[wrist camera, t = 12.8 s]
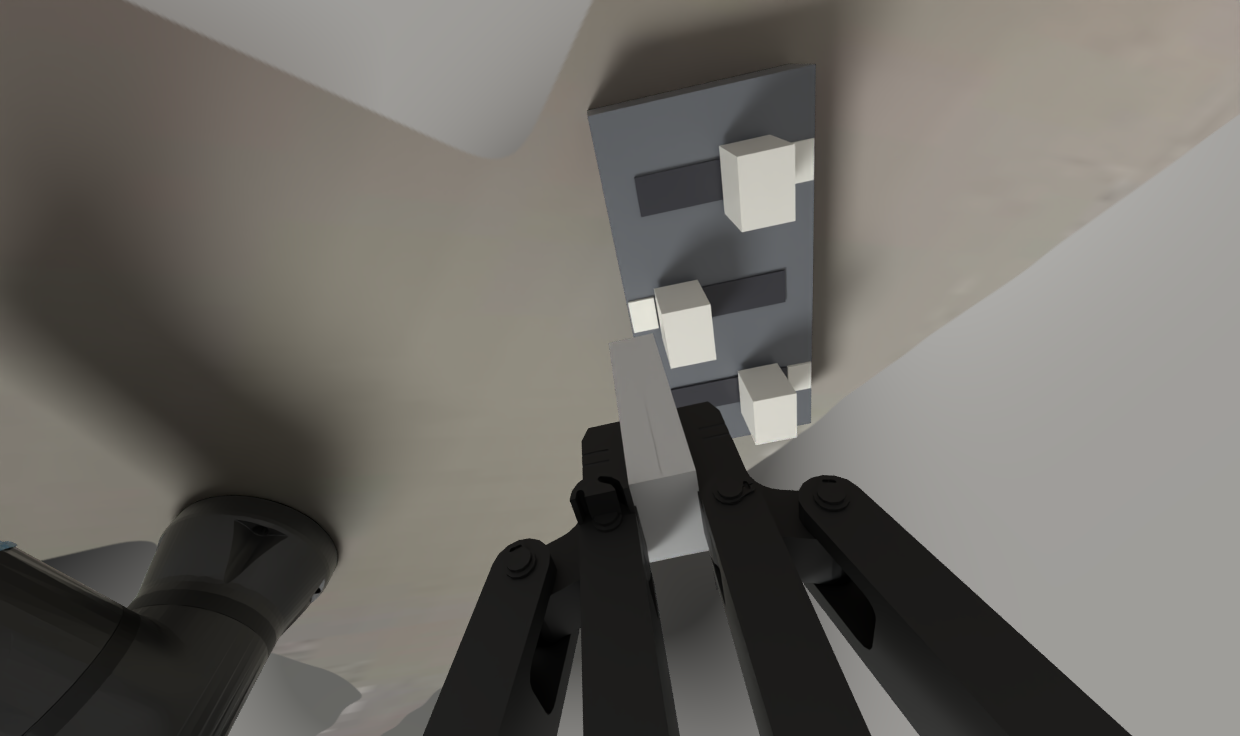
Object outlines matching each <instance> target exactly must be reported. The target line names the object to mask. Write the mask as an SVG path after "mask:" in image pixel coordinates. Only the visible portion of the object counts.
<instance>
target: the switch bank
mask: <svg viewBox="0 0 1240 736" xmlns="http://www.w3.org/2000/svg"><path fill="white" fill-rule="evenodd" d="M815 81H816V64H787V65H783V66H779V67H774V68H770V69H765V70H761V71H757V72H752V73H748V74H744V75H739V76H735V77H731V78H726V79H722V80H718V81H713V82H709V83H705V84H700V85H696V86H692V87H687V88H683V89H678V90H674V91H670V92H665V93H661V94H657V95H652V96H648V97H644V98H639V99H635V100H631V101H626V102H622V103H618V104H613V105H609V106H605V107H600V108H596V109H592V110H587V115H588V121H589V125H590V130H591V135H592V140H593V145H594V149H595V154H596V159H597V164H598V169H599V173H600V178H601V183H602V188H603V192H604V197H605V202H606V207H607V212H608V216H609V221H610V226H611V231H612V236H613V240H614V245H615V250H616V255H617V260H618V264H619V269H620V274H621V279H622V283H623V288H624V293H625V298H626V303H627V307H628V312H629V317H630V322H631V327H632V331H633V336H634V337H638V336H643V335H647V334H652V333H653V336H654V339H655V342H656V345H657V348H658V352H659V355H660V358H661V361H662V364H663V368H664V371H665V374H666V377H667V380H668V384H669V387H670V390H671V393H672V396H673V399H674V403H675V406H676V408H679V407H683V406H688V405H693V404H697V403H702V402H707V401H708V402H710V403H711V404H712V405H713V406H715V407H716V408H717V409H719V410H720V412H721V414H722V417H723V419H724V421H725V425H726V426H727V428H728V430H729V433H730V435H731V437H732V438H736V437H741V436H746V435H751V433H750V431H749V428H748V426H747V424H746V422H745V420H744V417H743V415H742V413H741V404H740V392H739V380H738V371H740V370H745V369H750V368H755V367H760V366H765V365H770V364H775V363H777V364H778V365H779V367H780V368H781V370H782V371H783V373H784V374H785V376H786V378H787V379H788V381H789V382H790V384H791V385H792V387H793V388H794V390H795V392H796V393H797V426H798V425H803V424H808V423H811V373H812V300H813V227H814V154H815ZM765 135H773V136H775V137H778V138H780V139H783V140H786V141H788V142H791V143H793V144H795V221H792V222H788V223H783V224H778V225H774V226H769V227H764V228H760V229H755V230H750V231H746V232H741V231H740V230H739V229H738V227H737V226H736V225H735V224H734V223H733V222H732V221H731V220H730V219H729V218H728V217H727V216H726V215H725V212H724V200H723V188H722V176H721V164H720V152H719V146H721V145H725V144H730V143H734V142H739V141H743V140H748V139H752V138H756V137H761V136H765ZM693 280H698V281H699V283H700V285H701V287H702V289H703V291H704V293H705V295H706V297H707V299H708V301H709V302H710V305H711V314H712V323H713V332H714V341H715V351H716V360H712V361H707V362H702V363H697V364H692V365H687V366H682V367H677V368H672V369H671V367H670V364H669V360H668V357H667V353H666V350H665V346H664V343H663V339H662V334H661V328H660V322H659V316H658V310H657V305H656V299H655V293H654V289H655V288H659V287H664V286H669V285H674V284H679V283H683V282H688V281H693Z"/></svg>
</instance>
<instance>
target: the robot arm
mask: <svg viewBox="0 0 1240 736" xmlns="http://www.w3.org/2000/svg"><path fill="white" fill-rule="evenodd" d="M609 349H610V356H611V363H612V370H613V377H614V384H615V391H616V398H617V406H618V413H619V420H620V422H615V423H610V424H606V425H601V426H596V427H592V428H588V430H587V432H586V434H585V436H584V438H583V440H582V456H583V457H582V465H583V480H581V481H580V482H579V483H578V484H577V485H576V486H575V488H574V489H573V490H572V493H571V497H570V502H571V505H572V508H573V510H574V513H575V516H576V519H577V521H578V523H577V525H576V526H575V527H574V528H573V529H572V530H571V531H570V532H568V533H567V534H565V535H564V536H562V537H560V538H558V539H557V540H555V541H553V542H551V543H549V544H547V545H545V544H544V543H543V542H541V541H540V540H536V539H530V538H529V539H523V540H518V541H516V542H514V543H512V544H510V545H508V546H507V547H506V548H505V549H504V550H503V551H502V552H500V553H499V555H498V556H497V558H496V560H495V561H494V563H493V565H492V567H491V570H490V572H489V575H488V577H487V580H486V582H485V584H484V587H483V589H482V592H481V594H480V597H479V599H478V602H477V604H476V607H475V609H474V611H473V614H472V616H471V619H470V621H469V624H468V626H467V629H466V631H465V634H464V636H463V638H462V641H461V643H460V646H459V648H458V651H457V653H456V656H455V658H454V660H453V663H452V665H451V668H450V670H449V673H448V675H447V678H446V680H445V683H444V685H443V687H442V690H441V693H440V695H439V697H438V700H437V702H436V705H435V707H434V710H433V712H432V714H431V717H430V720H429V722H428V724H427V727H426V729H425V732H424V734H423V736H557V732H558V727H559V723H560V718H561V714H562V709H563V704H564V700H565V695H566V690H567V685H568V681H569V676H570V672H571V667H572V662H573V658H574V653H575V649H576V644H577V639H578V635H579V628H581V644H582V645H581V646H582V688H583V689H582V691H583V736H680V734H679V728H678V722H677V716H676V710H675V704H674V698H673V693H672V686H671V680H670V674H669V668H668V662H667V656H666V650H665V644H664V638H663V632H662V627H661V620H660V614H659V608H658V602H657V596H656V590H655V584H654V580H653V577H652V573H651V568H650V562H654V561H658V560H664V559H669V558H673V557H678V556H683V555H688V554H693V553H698V552H702V551H707V550H709V551H710V554H711V559H712V565H713V572H714V578H715V584H716V589H719V592H720V596H721V599H722V603H723V606H724V610H725V613H726V617H727V620H728V624H729V627H730V631H731V635H732V638H733V642H734V645H735V649H736V652H737V656H738V659H739V663H740V667H741V670H742V674H743V677H744V681H745V684H746V688H747V691H748V695H749V698H750V702H751V705H752V709H753V713H754V716H755V720H756V723H757V727H758V730H759V734H760V736H871V734H870V732H869V730H868V728H867V725H866V723H865V721H864V719H863V716H862V714H861V712H860V710H859V708H858V706H857V703H856V701H855V699H854V696H853V694H852V692H851V690H850V688H849V685H848V683H847V681H846V679H845V677H844V674H843V672H842V670H841V667H840V665H839V663H838V661H837V659H836V656H835V654H834V653H833V650H832V647H831V645H830V643H829V641H828V639H827V636H826V634H825V632H824V630H823V627H822V625H821V623H820V621H819V619H818V617H817V614H816V612H815V610H814V607H813V605H812V603H811V601H810V599H809V596H808V594H807V592H806V590H805V587H804V585H805V586H806V588H807V589H808V590H809V592H810V593H811V594H812V595H813V597H814V598H815V599H816V601H817V602H818V603H819V605H820V606H821V607H822V609H823V610H824V611H825V612H826V613H827V615H828V616H829V618H830V619H831V620H832V622H833V623H834V624H835V625H836V627H837V628H838V629H839V631H840V632H841V633H842V635H843V636H844V637H845V638H846V640H847V641H848V643H849V644H850V645H851V646H852V648H853V649H854V650H855V652H856V653H857V654H858V656H859V657H860V658H861V660H862V661H863V662H864V663H865V665H866V666H867V667H868V669H869V670H870V671H871V673H872V674H873V675H874V677H875V678H876V679H877V680H878V682H879V683H880V684H881V686H882V687H883V688H884V690H885V691H886V692H887V693H888V695H889V696H890V697H891V699H892V700H893V701H894V703H895V704H896V705H897V707H898V708H899V709H900V711H901V712H902V713H903V714H904V716H905V717H906V718H907V720H908V721H909V722H910V724H911V725H912V726H913V728H914V729H915V730H916V731H917V733H918V734H919V735H920V736H1132V735H1130V734H1129V733H1128V732H1127V731H1126V730H1125V729H1124V728H1123V727H1122V726H1121V725H1120V724H1118V723H1117V722H1116V721H1115V720H1114V719H1113V718H1112V717H1111V716H1110V715H1108V714H1107V713H1106V712H1105V711H1104V710H1103V709H1102V708H1101V707H1100V706H1099V705H1098V704H1096V703H1095V702H1094V701H1093V700H1092V699H1091V698H1090V697H1089V696H1087V695H1086V694H1085V693H1084V692H1083V691H1082V690H1081V689H1080V688H1079V687H1078V686H1077V685H1076V684H1074V683H1073V682H1072V681H1071V680H1070V679H1069V678H1068V677H1067V676H1066V675H1065V674H1063V673H1062V672H1061V671H1060V670H1059V669H1058V668H1057V667H1056V666H1055V665H1054V664H1052V663H1051V662H1050V661H1049V660H1048V659H1047V658H1046V657H1045V656H1044V655H1043V654H1041V653H1040V652H1039V651H1038V650H1037V649H1036V648H1035V647H1034V646H1032V644H1030V643H1029V642H1028V641H1027V640H1026V639H1025V638H1024V637H1023V636H1022V635H1021V634H1019V633H1018V632H1017V631H1016V630H1015V629H1014V628H1013V627H1012V626H1011V625H1010V624H1008V623H1007V622H1006V621H1005V620H1004V619H1003V618H1002V617H1001V616H1000V615H998V614H997V613H996V612H995V611H994V610H993V609H992V608H991V607H990V606H989V605H988V604H986V603H985V602H984V601H983V600H982V599H981V598H980V597H979V596H978V595H976V594H975V593H974V592H973V591H972V590H971V589H970V588H969V587H968V586H967V585H966V584H964V583H963V582H962V581H961V580H960V579H959V578H958V577H957V576H956V575H954V574H953V573H952V572H951V571H950V570H949V569H948V568H947V567H946V566H944V564H942V563H941V562H940V561H939V560H938V559H937V558H936V557H935V556H934V555H932V554H931V553H930V552H929V551H928V550H927V549H926V548H925V547H924V546H923V545H922V544H920V543H919V542H918V541H917V540H916V539H915V538H914V537H913V536H912V535H911V534H909V533H908V532H907V531H906V530H905V529H904V528H903V527H902V526H901V525H900V524H898V523H897V522H896V521H895V520H894V519H893V518H892V517H891V516H890V515H889V514H887V513H886V512H885V511H884V510H883V509H882V508H881V507H880V506H879V505H878V504H876V503H875V502H874V501H873V500H872V499H871V498H870V497H869V496H868V495H867V494H865V493H864V492H863V491H862V490H861V489H860V488H859V487H858V486H856V485H855V484H853V483H852V482H850V481H849V480H847V479H844V478H841V477H837V476H828V475H822V476H818V477H813V478H811V479H809V480H807V481H806V482H804V483H803V484H802V486H801V488H800V490H799V491H793V490H792V491H791V490H779V489H771V488H768V487H765V486H763V485H761V484H759V483H757V482H756V481H754V479H752V478H751V477H750V476H749V474H748V473H747V471H746V469H745V467H744V465H743V462H742V460H741V458H740V455H739V453H738V451H737V449H736V446H735V444H734V442H733V440H732V437H731V435H730V433H729V430H728V428H727V426H726V425H725V421H724V419H723V417H722V414H721V412H720V410H719V409H717V408H716V407H715V406H713V405H712V404H711V403H710V402H708V401H707V402H702V403H697V404H693V405H688V406H683V407H679V408H676V406H675V403H674V399H673V396H672V393H671V390H670V387H669V384H668V380H667V377H666V374H665V371H664V368H663V364H662V361H661V358H660V355H659V352H658V348H657V345H656V342H655V339H654V336H653V333H652V334H647V335H643V336H638V337H634V338H629V339H625V340H620V341H616V342H611V343H609ZM16 546H17V544H15V543H13V542H9V541H5V542H2V541H0V736H228V734H229V732H230V730H231V728H232V726H233V724H234V723H235V721H236V719H237V717H238V715H239V713H240V711H241V709H242V707H243V705H244V703H245V701H246V700H247V698H248V696H249V694H250V692H251V690H252V688H253V686H254V684H255V682H256V680H257V678H258V676H259V674H260V673H261V671H262V669H263V667H264V665H265V663H266V661H267V659H268V657H269V655H270V653H271V651H272V650H273V648H274V646H275V644H276V642H277V641H278V639H279V638H280V636H281V635H282V634H283V633H284V632H285V631H286V630H287V629H288V628H289V627H290V626H291V625H292V624H293V623H294V622H295V621H296V620H297V619H298V617H299V616H300V615H301V614H302V613H303V612H304V611H305V610H306V609H307V607H308V606H309V605H310V604H311V603H312V602H313V601H314V600H315V599H316V598H317V597H318V596H319V595H320V594H321V593H322V592H323V590H324V589H325V588H326V586H327V584H328V582H329V580H330V578H331V576H332V574H333V572H334V570H335V568H336V564H337V552H336V548H335V546H334V544H333V542H332V540H331V538H330V537H329V536H328V534H327V533H326V532H325V531H324V530H323V529H322V528H321V527H320V526H319V525H318V524H316V523H315V522H314V521H313V520H311V519H310V518H308V517H307V516H305V515H303V514H301V513H300V512H298V511H296V510H294V509H291V508H289V507H287V506H284V505H282V504H279V503H276V502H272V501H269V500H264V499H260V498H254V497H246V496H219V497H212V498H208V499H204V500H201V501H198V502H196V503H193V504H191V505H190V506H188V507H187V508H185V509H184V510H183V511H182V512H181V513H180V514H179V515H178V516H177V517H176V518H175V519H174V521H173V522H172V523H171V524H170V525H169V526H168V527H167V528H166V530H165V531H164V533H163V534H162V536H161V537H160V540H159V543H158V546H157V550H156V553H155V555H154V557H153V560H152V562H151V564H150V566H149V568H148V571H147V573H146V575H145V578H144V580H143V583H142V585H141V588H140V590H139V592H138V594H137V596H136V598H135V599H134V600H133V601H132V603H131V604H130V605H129V606H128V607H127V608H126V607H124V606H122V605H121V604H119V603H117V602H115V601H113V600H111V599H110V598H108V597H106V596H104V595H102V594H100V593H98V592H97V591H95V590H93V589H91V588H89V587H88V586H86V585H84V584H82V583H80V582H78V581H76V580H75V579H73V578H71V577H69V576H67V575H65V574H64V573H62V572H60V571H58V570H56V569H54V568H52V567H51V566H49V565H47V564H45V563H43V562H42V561H40V560H38V559H36V558H34V557H32V556H31V555H29V554H27V553H25V552H23V551H21V550H20V549H18V548H16ZM802 582H803V583H804V585H803V583H802Z"/></svg>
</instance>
